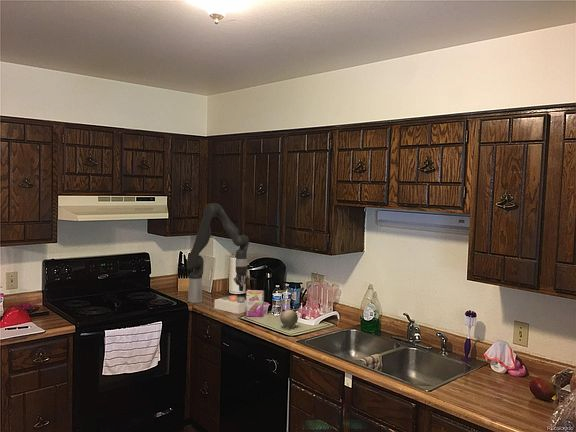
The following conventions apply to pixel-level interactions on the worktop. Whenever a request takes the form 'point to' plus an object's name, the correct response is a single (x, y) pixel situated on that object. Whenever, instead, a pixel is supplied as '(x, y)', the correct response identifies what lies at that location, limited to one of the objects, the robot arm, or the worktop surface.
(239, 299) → the grey button
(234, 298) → the terracotta button
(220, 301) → the control panel
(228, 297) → the grey button
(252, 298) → the candy bar box
